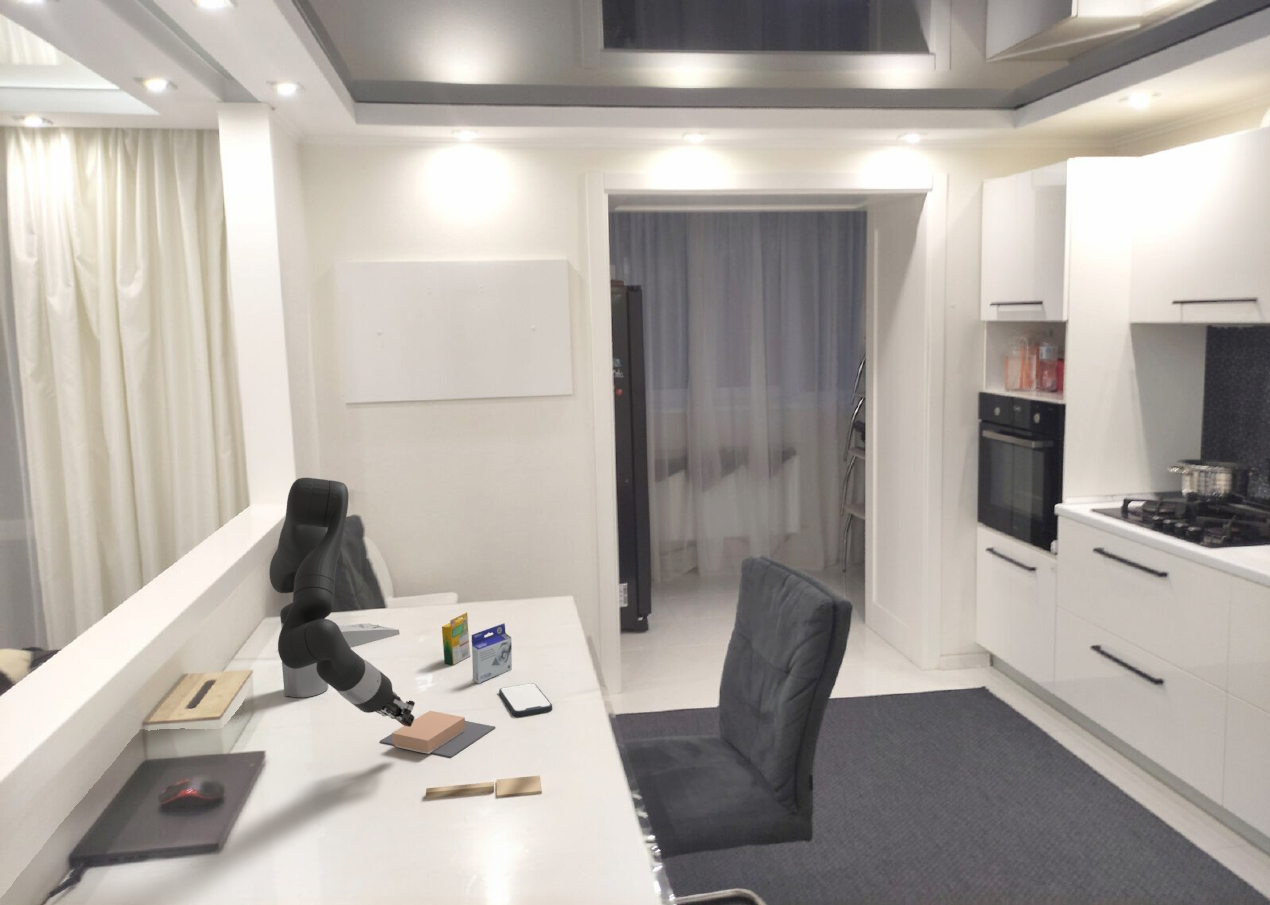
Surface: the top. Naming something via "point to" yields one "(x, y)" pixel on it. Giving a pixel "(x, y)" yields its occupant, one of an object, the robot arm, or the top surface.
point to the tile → (428, 732)
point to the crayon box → (456, 640)
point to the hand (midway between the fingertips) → (409, 721)
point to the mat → (457, 739)
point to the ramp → (365, 633)
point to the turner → (491, 788)
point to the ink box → (491, 653)
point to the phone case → (525, 700)
